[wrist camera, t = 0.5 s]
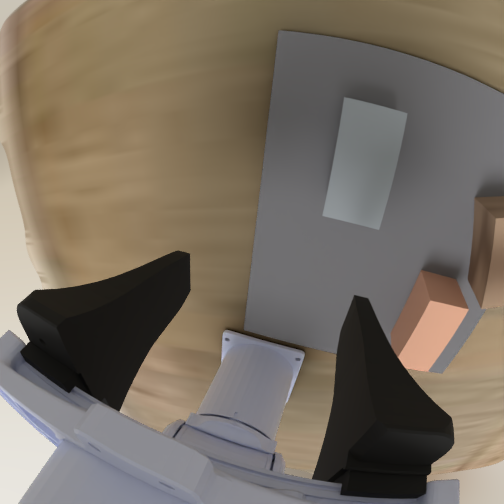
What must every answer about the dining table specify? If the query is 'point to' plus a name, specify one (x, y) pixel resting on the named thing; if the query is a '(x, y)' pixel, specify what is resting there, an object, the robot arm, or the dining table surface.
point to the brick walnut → (488, 252)
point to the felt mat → (399, 201)
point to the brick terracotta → (428, 320)
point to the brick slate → (364, 162)
